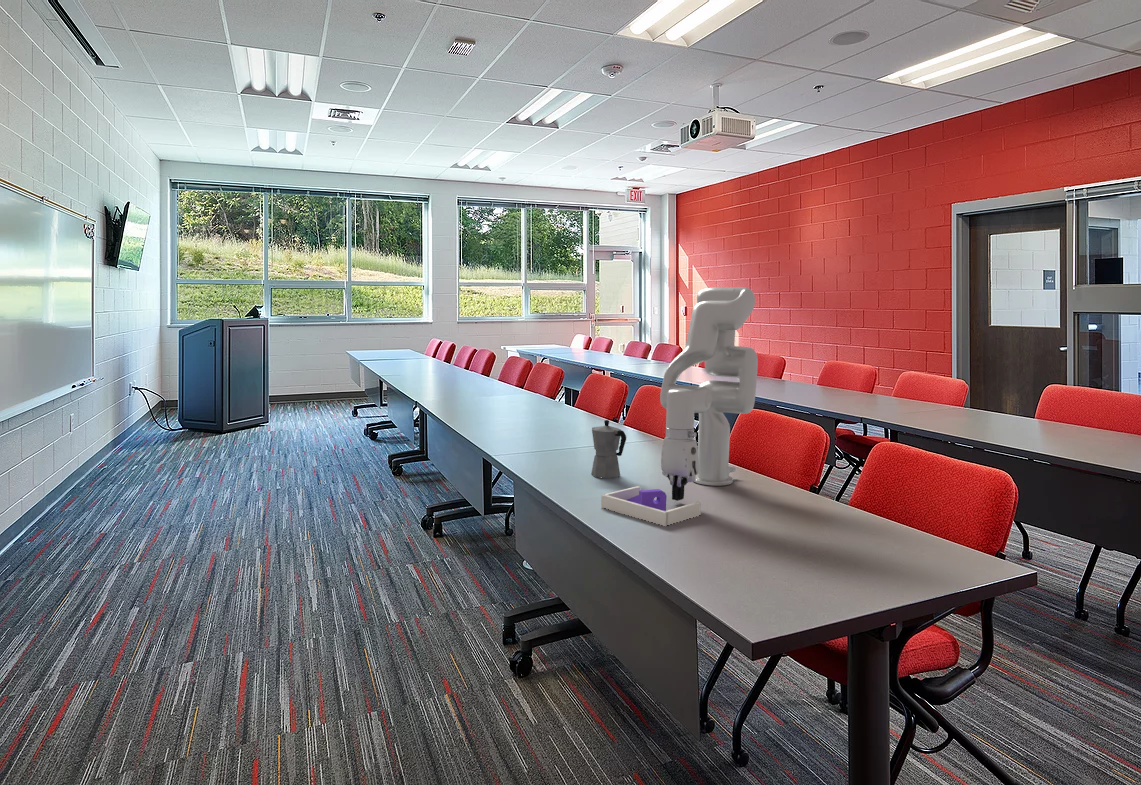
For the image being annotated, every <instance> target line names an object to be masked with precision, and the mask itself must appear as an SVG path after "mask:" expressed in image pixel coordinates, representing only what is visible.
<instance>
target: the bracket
mask: <svg viewBox="0 0 1141 785" xmlns="http://www.w3.org/2000/svg"><path fill="white" fill-rule="evenodd" d="M655 499H656V500H655ZM626 501H630V502H634V503H637V504H641V505H644V506H648V507H651V508H655V509H659V510H662V511H667V494H666V492H664V491H663V490H661V489H659V488H657V489H640V490H639V495H637V496H635V497H632V498H629V499H627V500H626Z"/></svg>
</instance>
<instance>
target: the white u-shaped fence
mask: <svg viewBox="0 0 1141 785" xmlns="http://www.w3.org/2000/svg"><path fill="white" fill-rule="evenodd" d="M639 490H641V486H639V485H637V486H633V487H629V488H623V489H620V490H615V491H612V492H607V493H603V494H601V495H600V496H601V497H600V498H601V500H600V502H601V503H600V504H601V505H600V507H602V509H604V508H606V509H605V510H608V509H609V510H608V511H612V512H614V511H615V512H614V513H619V514H621V515H624V514H625V515H624V516H628V515H629V516H628V517H631V516H632V517H631V518H634V517H635V519H638V518H639V520H641V519H643V520H642V521H644V520H646V521H645V522H648V521H649V522H648V523H651V522H653V523H652V524H654V523H656V524H655V525H658V524H660V525H659V526H661V525H663V526H662V527H664V526H665V527H668V526H667V525H669V526H671V525H670V524H672V525H674V524H673V523H675V524H677V523H676V522H678V523H680V522H679V521H681V522H683V521H682V520H685V519H688V520H690V519H689V518H691V519H694V518H697V517H700V516H699V515H701V514H702V513H701V511H702V510H701V508H702V502H701V501H695V502H692V503H688V504H685V505H682V506H679V507H675V508H671V509H668V510H667V509H666V511H662V510H659V509H655V508H651V507H648V506H644V505H641V504H637V503H634V502H630V501H626V500H627V499H629V498H632V497H635V496H637V495H639ZM696 516H697V517H696ZM693 517H694V518H693ZM685 521H686V520H685Z"/></svg>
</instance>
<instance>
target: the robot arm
mask: <svg viewBox="0 0 1141 785" xmlns="http://www.w3.org/2000/svg"><path fill="white" fill-rule="evenodd" d="M696 296H697V297H696V304H695V305H694V307H693V308H692V312H691V316H690V320H689V321H690V322H689V328H688V332H687V337H686V342H685V347H684V349H683V350H682V352H680V353H679V354H678V355H677V356H676V357H674V359H673V360H672V361H671V362H670V364H669V365H668V366H667V368H666V369H665V372H664V374H663V379H662V384H661V389H660V394H659V395H660V396H659V398H660V399H659V401H660V405H661V406H662V408H664V409H666V415H665V416H666V419H665V423H666V424H665V437H664V439H663V443H662V448H661V456H660V469H661V471H662V472H661V473H662V476H664V477H666V478H667V479H668V480H669V483H670V486H671V499H672V500H673V501H675V502H678V501H682V500H685V499H684V498H685V486H687V484H688V483H693V482H694V483H696V484H699V485H705V486H712V487H713V486H714V487H715V486H718V487H719V486H720V487H721V486H728V485H729V486H730V485H731V484H733V482H734V478H733V477H732V476H730V473H734V472H736V467H735V465H730V466H729V460H730V458H729V457H730V436H731V435H730V434H731V426H730V423H729V420H728V418H727V417H726V416H725V414H724V413H729V414H737V415H738V414H739V415H740V414H742V415H744V414H749V413H751V412H752V410H754V406H755V402H756V401H755V400H756V393H757V392H756V391H757V381H758V380H757V379H758V366H759V360H758V359H759V358H758V354H757V351H756V350H755V349H754V348H752V347H750V346H741V345H737V346H736V345H735V342H736V331H737V330H739V329H740V328H742V327H743V325H744V324H745V323H746V321H747V320H748V318H749V317H750V316H751V314H752V312H753V311H754V308H755V304H756V298H755V294H754V291H753V290H752V289H751V288H749V287H745V286H743V287H741V286H737V287H736V286H735V287H734V286H733V287H730V286H727V287H725V286H719V287H718V286H716V287H715V286H711V287H705V288H702V289H700V290H699V291H698V293H697V295H696ZM703 362H704V369H705V370H704V371H705V372H706V374H708V375H710V376H713V377H714V376H715V377H726V378H738V379H739V381H728V380H706V381H704V382H701V383H700V384H699V385H690V384H689V385H688V384H676V383H677V381H678V378H679V377H680V376H681V374H682V373H684V372H685V371H686V370H688V369H690V368H692V367H694V366H696V365H698V364H700V363H703ZM695 414H698V439H697V440H696V439H694V438H696V437H697V432H695ZM697 441H698V442H697Z"/></svg>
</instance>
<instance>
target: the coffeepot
mask: <svg viewBox="0 0 1141 785" xmlns="http://www.w3.org/2000/svg"><path fill="white" fill-rule="evenodd" d="M603 424H604V425H601V426H593V427H592V428H591V432H592V433H591V434H592V442H593V447H594V448H593V449H594V450H595V455H594V459H593V462H592V469H591V475H592V474H593V475H594V476H596V477H595V478H597V477H602V478H601V479H604V478H610V479H615V478H614V477H617V478H619V477H618V476H621V473H620V472H621V471H620V464H619V458H618V457H621V456H622V455H623V451H624V447H625V445H626V441H627V435H626V433H625V431H624V430H622V429H621V428H619V427H616V426H615V427H614V426H610V420H608V419H605V420H604V423H603ZM617 451H618V452H617ZM594 476H593V477H594Z"/></svg>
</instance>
